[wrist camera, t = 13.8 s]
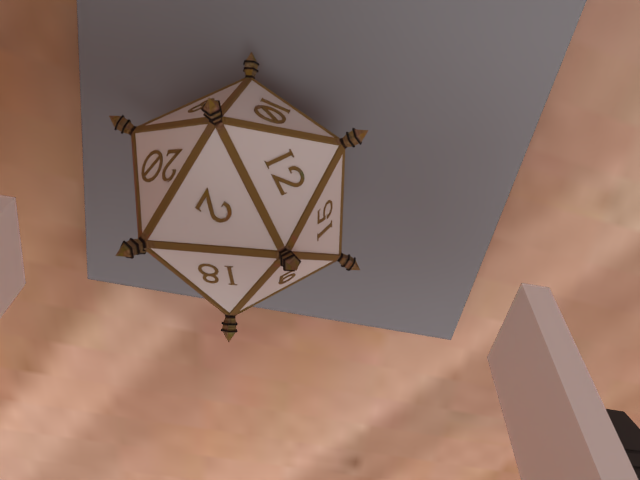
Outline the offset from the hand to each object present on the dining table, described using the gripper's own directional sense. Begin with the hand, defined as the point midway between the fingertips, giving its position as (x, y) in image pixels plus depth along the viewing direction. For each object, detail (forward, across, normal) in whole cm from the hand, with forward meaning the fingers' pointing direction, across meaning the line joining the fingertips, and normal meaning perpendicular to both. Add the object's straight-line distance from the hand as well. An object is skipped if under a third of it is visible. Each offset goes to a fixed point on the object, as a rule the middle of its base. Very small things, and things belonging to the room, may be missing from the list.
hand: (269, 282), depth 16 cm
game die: (+9, +2, 0) cm, 10 cm away
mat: (+10, 0, 0) cm, 11 cm away
